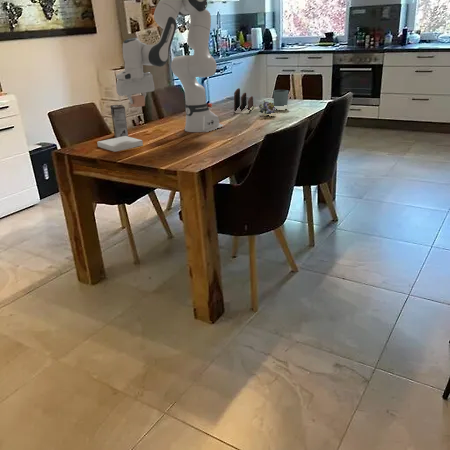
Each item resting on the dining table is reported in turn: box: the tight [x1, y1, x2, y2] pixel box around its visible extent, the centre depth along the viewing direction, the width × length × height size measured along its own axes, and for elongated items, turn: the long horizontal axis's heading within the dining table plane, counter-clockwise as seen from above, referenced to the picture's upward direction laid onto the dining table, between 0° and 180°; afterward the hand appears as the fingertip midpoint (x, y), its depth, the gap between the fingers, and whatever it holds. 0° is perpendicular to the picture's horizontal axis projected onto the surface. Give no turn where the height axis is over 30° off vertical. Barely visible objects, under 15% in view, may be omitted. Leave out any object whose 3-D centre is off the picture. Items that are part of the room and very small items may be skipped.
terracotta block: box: [130, 94, 146, 108], centre depth 236 cm, size 5×5×5 cm
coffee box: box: [109, 104, 129, 138], centre depth 251 cm, size 9×6×16 cm
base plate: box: [96, 135, 144, 152], centre depth 233 cm, size 16×16×2 cm
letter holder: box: [233, 88, 254, 112], centre depth 310 cm, size 10×20×14 cm, turn 169°
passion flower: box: [258, 99, 276, 115], centre depth 289 cm, size 11×11×12 cm
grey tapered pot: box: [272, 89, 290, 106], centre depth 309 cm, size 10×10×12 cm
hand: (137, 102), depth 236 cm, fingers closed on terracotta block, 5 cm apart
